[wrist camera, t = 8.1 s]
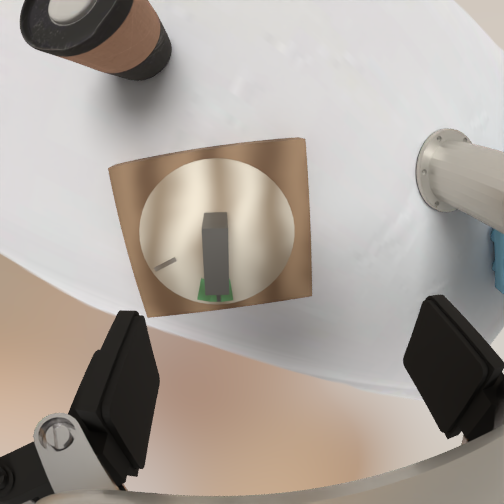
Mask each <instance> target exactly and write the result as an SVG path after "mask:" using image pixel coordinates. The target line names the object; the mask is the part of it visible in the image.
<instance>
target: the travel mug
mask: <svg viewBox="0 0 504 504" xmlns="http://www.w3.org/2000/svg"><path fill="white" fill-rule="evenodd" d="M20 29H21V33H22V36H23V38H24V39H25V41H26V42H27V43H28V44H29V45H30V46H31V47H33V48H35V49H37V50H40V51H42V52H46V53H49V54H52V55H55V56H58V57H61V58H64V59H67V60H70V61H73V62H76V63H79V64H82V65H84V66H87V67H90V68H93V69H95V70H98V71H101V72H104V73H108V74H112V75H115V76H119V77H122V78H126V79H129V80H145V79H148V78H151V77H153V76H154V75H156V74H158V73H159V72H160V71H161V70H162V69H163V68H164V67H165V66H166V64H167V62H168V60H169V58H170V55H171V43H170V40H169V37H168V35H167V33H166V31H165V29H164V27H163V25H162V23H161V21H160V19H159V17H158V15H157V14H156V12H155V10H154V9H153V7H152V6H151V4H150V3H149V1H148V0H25V1H24V4H23V7H22V10H21V15H20Z"/></svg>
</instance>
